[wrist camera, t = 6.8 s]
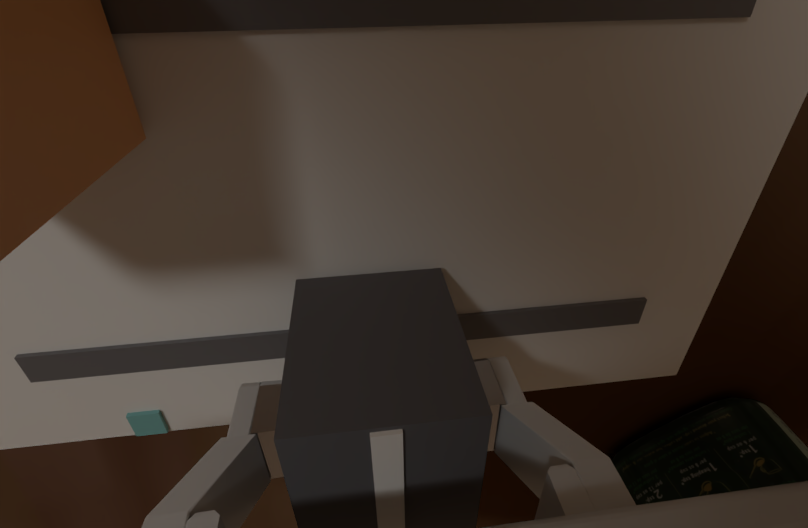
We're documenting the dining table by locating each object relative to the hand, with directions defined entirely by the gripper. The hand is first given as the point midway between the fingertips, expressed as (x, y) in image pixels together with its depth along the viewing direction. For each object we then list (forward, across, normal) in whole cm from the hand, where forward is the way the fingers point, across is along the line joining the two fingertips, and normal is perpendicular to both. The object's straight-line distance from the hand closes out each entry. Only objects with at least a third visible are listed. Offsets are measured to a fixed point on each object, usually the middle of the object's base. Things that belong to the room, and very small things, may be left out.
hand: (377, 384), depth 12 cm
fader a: (+2, 0, 0) cm, 2 cm away
